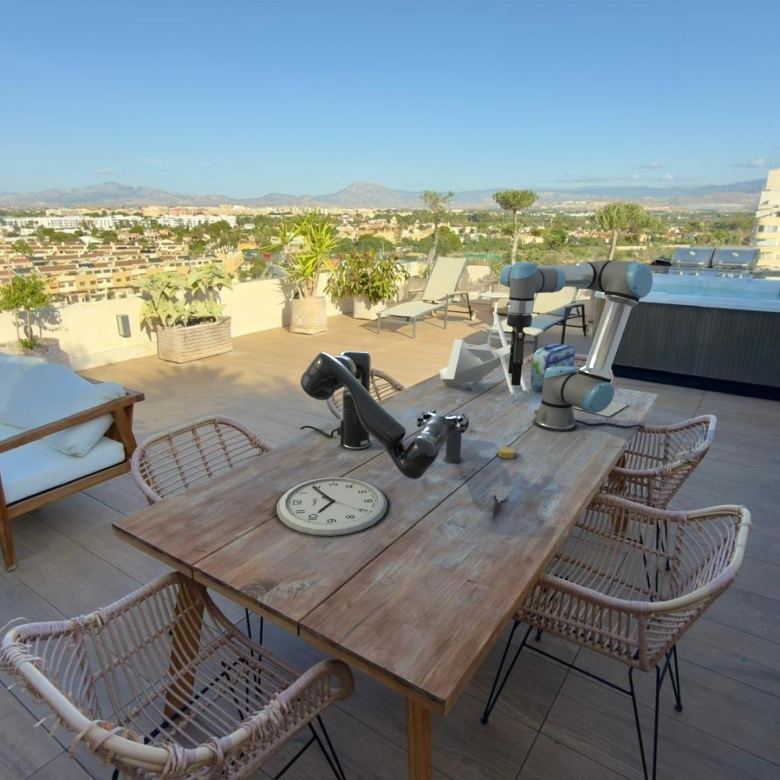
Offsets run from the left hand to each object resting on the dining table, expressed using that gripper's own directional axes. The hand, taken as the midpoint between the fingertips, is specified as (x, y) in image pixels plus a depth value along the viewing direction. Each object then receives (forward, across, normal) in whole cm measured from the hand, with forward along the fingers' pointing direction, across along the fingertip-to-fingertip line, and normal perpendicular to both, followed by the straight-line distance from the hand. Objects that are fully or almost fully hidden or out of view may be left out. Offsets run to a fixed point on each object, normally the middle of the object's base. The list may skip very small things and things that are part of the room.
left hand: (448, 413), depth 156 cm
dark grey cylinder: (+11, 0, -20) cm, 23 cm away
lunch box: (+108, +26, -22) cm, 114 cm away
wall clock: (-30, -25, -20) cm, 43 cm away
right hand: (+22, +16, +6) cm, 28 cm away
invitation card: (+88, +48, -21) cm, 102 cm away
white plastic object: (+88, -5, -21) cm, 91 cm away
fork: (-14, +18, -20) cm, 30 cm away
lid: (+22, +16, -19) cm, 33 cm away
